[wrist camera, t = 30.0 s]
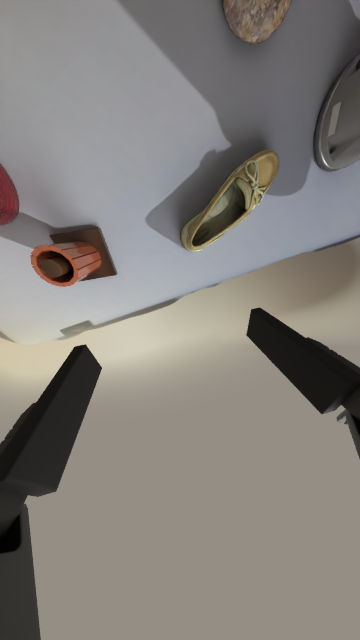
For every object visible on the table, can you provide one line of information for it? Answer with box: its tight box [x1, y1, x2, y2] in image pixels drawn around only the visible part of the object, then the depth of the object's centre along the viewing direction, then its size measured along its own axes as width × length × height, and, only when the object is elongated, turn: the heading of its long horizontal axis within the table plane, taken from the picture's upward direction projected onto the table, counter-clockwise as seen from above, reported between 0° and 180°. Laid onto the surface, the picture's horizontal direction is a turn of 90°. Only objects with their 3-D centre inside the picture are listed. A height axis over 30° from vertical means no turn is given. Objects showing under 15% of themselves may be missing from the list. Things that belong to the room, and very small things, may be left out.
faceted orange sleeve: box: [31, 242, 101, 287], centre depth 26 cm, size 6×6×12 cm
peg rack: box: [41, 228, 117, 282], centre depth 27 cm, size 10×10×14 cm
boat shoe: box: [181, 149, 279, 252], centre depth 29 cm, size 10×24×8 cm, turn 138°
